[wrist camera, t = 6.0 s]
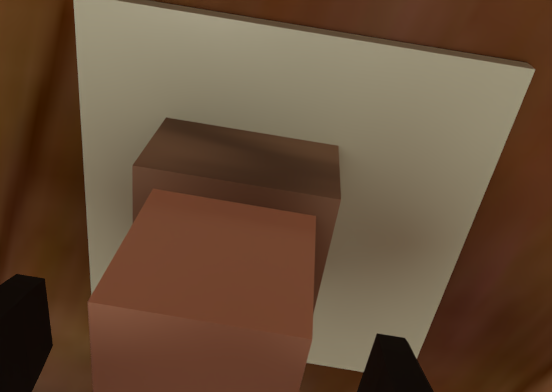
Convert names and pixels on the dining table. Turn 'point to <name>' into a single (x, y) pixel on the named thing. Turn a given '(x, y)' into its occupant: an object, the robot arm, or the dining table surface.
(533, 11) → the dining table surface
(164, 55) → the plate
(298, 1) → the dining table surface
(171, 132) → the walnut base brick
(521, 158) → the dining table surface
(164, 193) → the terracotta cube
